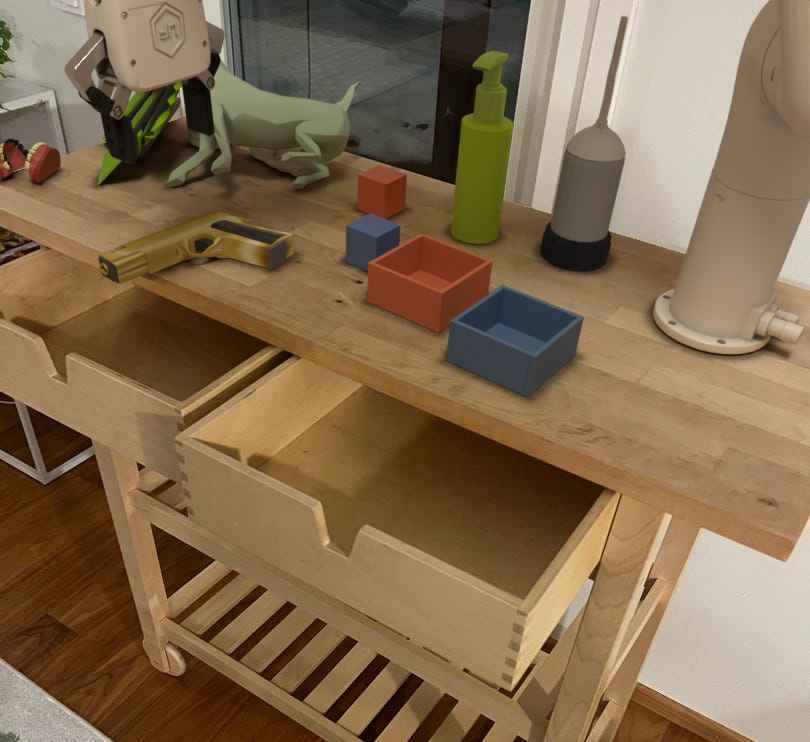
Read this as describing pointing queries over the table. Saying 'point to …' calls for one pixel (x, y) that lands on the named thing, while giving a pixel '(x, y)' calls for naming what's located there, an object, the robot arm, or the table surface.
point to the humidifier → (587, 188)
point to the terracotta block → (381, 191)
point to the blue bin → (513, 339)
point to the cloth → (144, 119)
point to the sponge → (275, 160)
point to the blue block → (370, 239)
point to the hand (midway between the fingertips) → (164, 145)
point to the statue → (270, 128)
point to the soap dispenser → (483, 158)
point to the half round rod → (175, 108)
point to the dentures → (28, 159)
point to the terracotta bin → (428, 281)
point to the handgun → (198, 246)
